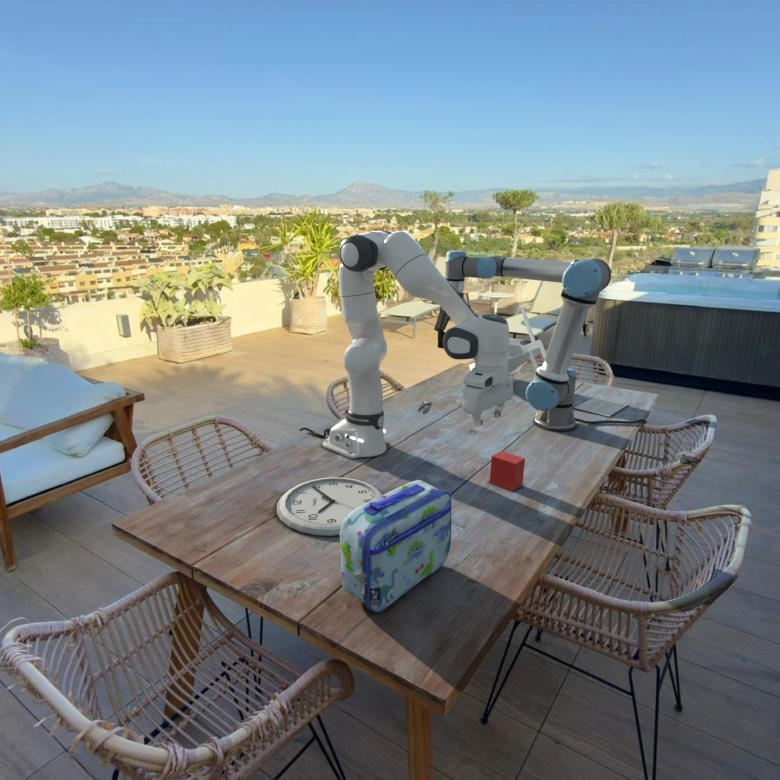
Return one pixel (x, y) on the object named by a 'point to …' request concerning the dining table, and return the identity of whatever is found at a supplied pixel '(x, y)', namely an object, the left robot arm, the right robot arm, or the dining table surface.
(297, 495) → the wall clock
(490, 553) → the dining table surface
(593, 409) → the invitation card
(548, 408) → the right robot arm
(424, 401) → the fork
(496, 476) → the brick
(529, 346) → the white plastic object
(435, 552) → the lunch box
